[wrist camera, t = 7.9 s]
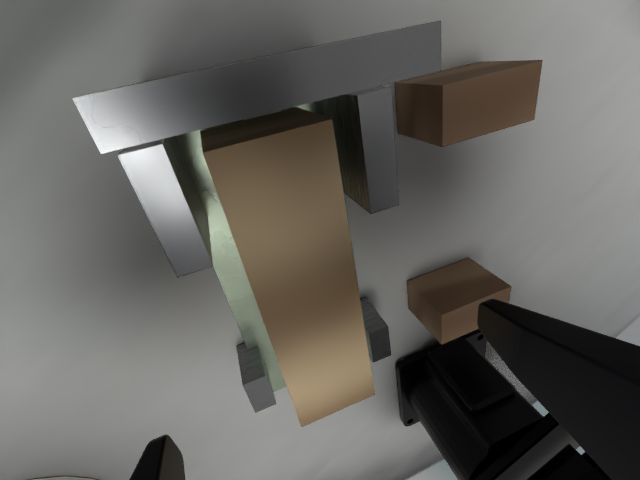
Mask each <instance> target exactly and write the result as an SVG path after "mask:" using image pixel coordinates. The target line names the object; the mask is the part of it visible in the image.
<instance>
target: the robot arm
mask: <svg viewBox="0 0 640 480" xmlns="http://www.w3.org/2000/svg"><path fill="white" fill-rule="evenodd" d="M477 325H478V328H479V329H477V330H474V331H472V332H470V333H467V334H465V335H463V336H460V337H458V338H456V339H454V340H451V341H449V342H447V343H444V344H442V345H441V344H438V345H436V346H433V347H431V348H429V349H426V350H424V351H422V352H420V353H417V354H415V355H413V356H410V357H408V358H406V359H403V360H401V361H400V362H399V363H398V364H397V366H396V373H397V383H398V394H399V404H400V414H401V420H402V422H403V424H404V425H405V426H410V425H413V424H415V423H417V422H419V421H420V422H421V423H422V425H423V426H424V428H425V429H426V431H427V432H428V434H429V436H430V437H431V439H432V440H433V442H434V443H435V445H436V446H437V448H438V449H439V451H440V452H441V454H442V456H443V457H444V459H445V460H446V462H447V463H448V465H449V466H450V468H451V469H452V471H453V473H454V474H455V475H456V477H457V479H458V480H640V346H637V345H634V344H631V343H628V342H625V341H621V340H619V339H616V338H613V337H610V336H607V335H604V334H601V333H597V332H594V331H591V330H588V329H585V328H582V327H579V326H576V325H573V324H570V323H567V322H564V321H561V320H558V319H555V318H552V317H549V316H545V315H542V314H539V313H536V312H533V311H530V310H527V309H524V308H521V307H518V306H515V305H512V304H509V303H506V302H503V301H500V300H497V299H488V300H486V301H483V302H481V303H480V304H479V306H478V316H477ZM486 340H488V342H489V343H490V344H491V346H492V347H493V348H494V349H495V351H496V352H497V353H498V355H499V356H500V357H501V359H502V360H503V361H504V362H505V364H506V365H507V366H508V368H509V369H510V370H511V371H512V373H513V374H514V375H515V376H516V377H517V378H518V379H519V381H520V382H521V383H522V384H523V385H524V386H525V387H526V388H527V389H528V390H529V391H530V392H531V393H532V395H533V396H534V397H535V398H536V399H537V400H538V401H539V402H540V403H541V404H542V405H543V406H544V407H545V409H546V410H547V411H548V412H549V413H548V414H547V415H546V416H545V417H543V416H542V415H541V414H540V413H539V412H538V411H537V410H536V409H535V408H534V407H533V406H532V405H531V404H530V403H529V402H528V401H527V400H526V399H525V398H524V397H523V396H522V395H521V394H520V393H519V392H518V391H517V390H516V388H515V387H514V386H513V385H512V384H511V383H510V382H509V381H508V380H507V379H506V378H505V377H504V376H503V375H502V374H501V373H500V372H499V371H498V370H497V369H496V368H495V367H494V366H493V365H492V364H491V363H490V362H489V361H488V360H487V359H486V358H485V350H486ZM579 446H581V447H582V448H583V449H584V450H585V453H584V454H582V455H580V454H579V453H578V452H577V451H576V449H577V448H578V447H579ZM129 480H185V473H184V463H183V457H182V454H181V452H180V450H179V449H178V447H177V446H176V444H175V443H174V442H173V440H172V439H171V438H170V436H169V435H163V436H161V437H158V438H156V439H153V440H152V441H150V442H149V443H148V445H147V446H146V448H145V450H144V452H143V454H142V456H141V458H140V460H139V462H138V464H137V466H136V468H135V470H134V472H133V474H132V476H131V478H130V479H129Z"/></svg>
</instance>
